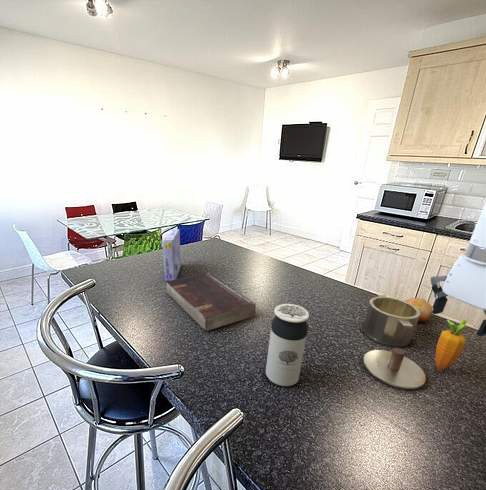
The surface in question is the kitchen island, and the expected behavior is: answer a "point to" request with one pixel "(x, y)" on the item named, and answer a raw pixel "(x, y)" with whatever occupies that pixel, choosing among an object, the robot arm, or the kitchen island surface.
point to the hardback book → (210, 300)
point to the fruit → (421, 308)
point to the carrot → (450, 345)
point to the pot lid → (394, 368)
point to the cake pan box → (171, 254)
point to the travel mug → (287, 344)
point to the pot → (390, 321)
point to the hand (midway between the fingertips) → (458, 323)
